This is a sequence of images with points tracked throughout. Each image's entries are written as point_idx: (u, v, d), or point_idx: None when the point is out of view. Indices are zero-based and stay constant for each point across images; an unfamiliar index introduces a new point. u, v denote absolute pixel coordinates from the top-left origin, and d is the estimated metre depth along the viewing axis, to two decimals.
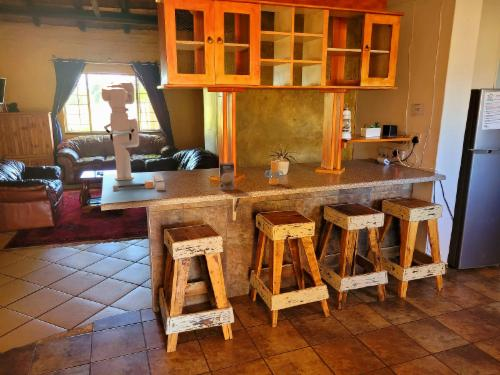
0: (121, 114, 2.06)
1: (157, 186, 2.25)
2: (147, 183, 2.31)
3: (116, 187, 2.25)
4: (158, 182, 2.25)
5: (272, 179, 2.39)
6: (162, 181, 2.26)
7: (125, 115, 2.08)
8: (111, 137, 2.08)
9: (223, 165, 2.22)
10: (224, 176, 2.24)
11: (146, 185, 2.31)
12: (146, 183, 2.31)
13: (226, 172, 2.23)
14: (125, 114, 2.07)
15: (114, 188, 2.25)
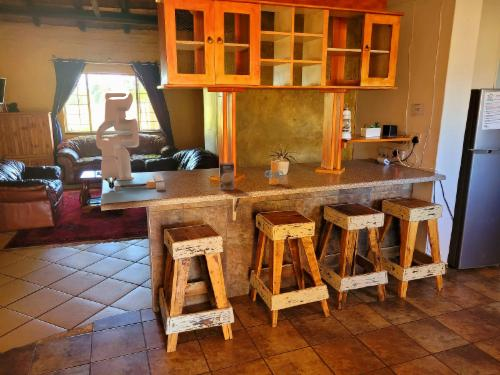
0: (111, 162, 2.21)
1: (157, 186, 2.25)
2: (149, 183, 2.31)
3: (118, 187, 2.25)
4: (158, 182, 2.25)
5: (272, 179, 2.39)
6: (162, 181, 2.26)
7: (115, 163, 2.22)
8: (110, 185, 2.24)
9: (223, 165, 2.22)
10: (224, 176, 2.24)
11: (148, 185, 2.31)
12: (148, 183, 2.31)
13: (226, 172, 2.23)
14: (115, 162, 2.22)
15: (116, 188, 2.25)
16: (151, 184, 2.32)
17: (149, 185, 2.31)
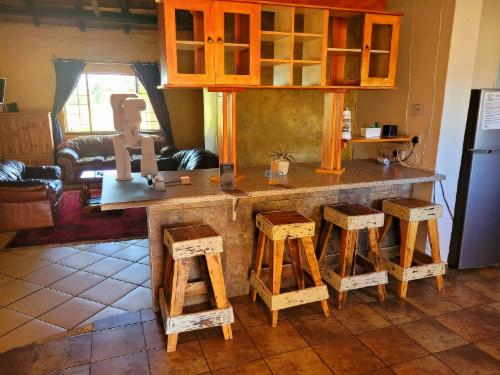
0: (150, 160, 2.28)
1: (157, 186, 2.25)
2: (184, 179, 2.42)
3: None
4: (158, 182, 2.25)
5: (272, 179, 2.39)
6: (162, 181, 2.26)
7: (154, 161, 2.29)
8: (149, 182, 2.31)
9: (223, 165, 2.22)
10: (224, 176, 2.24)
11: (183, 181, 2.42)
12: (183, 179, 2.42)
13: (226, 172, 2.23)
14: (154, 160, 2.29)
15: None
16: (186, 180, 2.43)
17: (184, 181, 2.43)
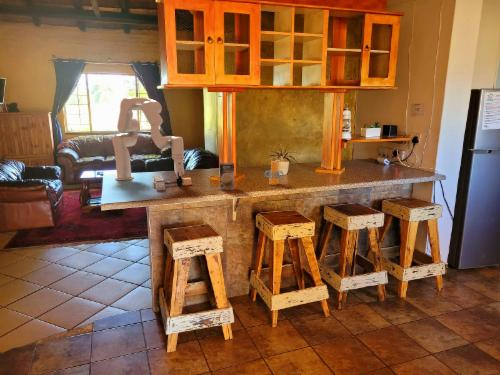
0: (174, 160, 2.34)
1: (157, 186, 2.25)
2: (185, 180, 2.38)
3: None
4: (158, 182, 2.25)
5: (272, 179, 2.39)
6: (162, 181, 2.26)
7: (175, 161, 2.32)
8: None
9: (223, 165, 2.22)
10: (224, 176, 2.24)
11: (184, 182, 2.39)
12: (184, 180, 2.38)
13: (226, 172, 2.23)
14: (175, 160, 2.32)
15: (154, 185, 2.32)
16: (188, 181, 2.39)
17: (186, 182, 2.39)
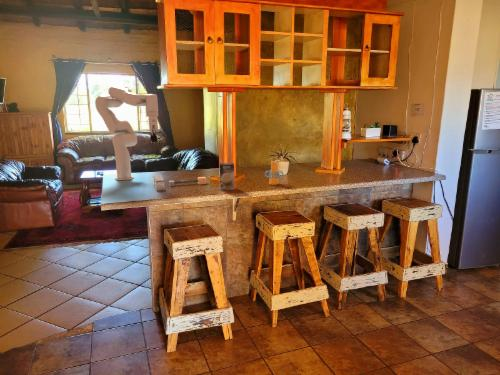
0: (148, 117, 2.33)
1: (157, 186, 2.25)
2: (200, 179, 2.42)
3: (172, 183, 2.36)
4: (158, 182, 2.25)
5: (272, 179, 2.39)
6: (162, 181, 2.26)
7: (149, 118, 2.31)
8: None
9: (223, 165, 2.22)
10: (224, 176, 2.24)
11: (199, 181, 2.42)
12: (200, 179, 2.42)
13: (226, 172, 2.23)
14: (149, 117, 2.31)
15: (170, 184, 2.36)
16: (203, 180, 2.42)
17: (201, 181, 2.42)
